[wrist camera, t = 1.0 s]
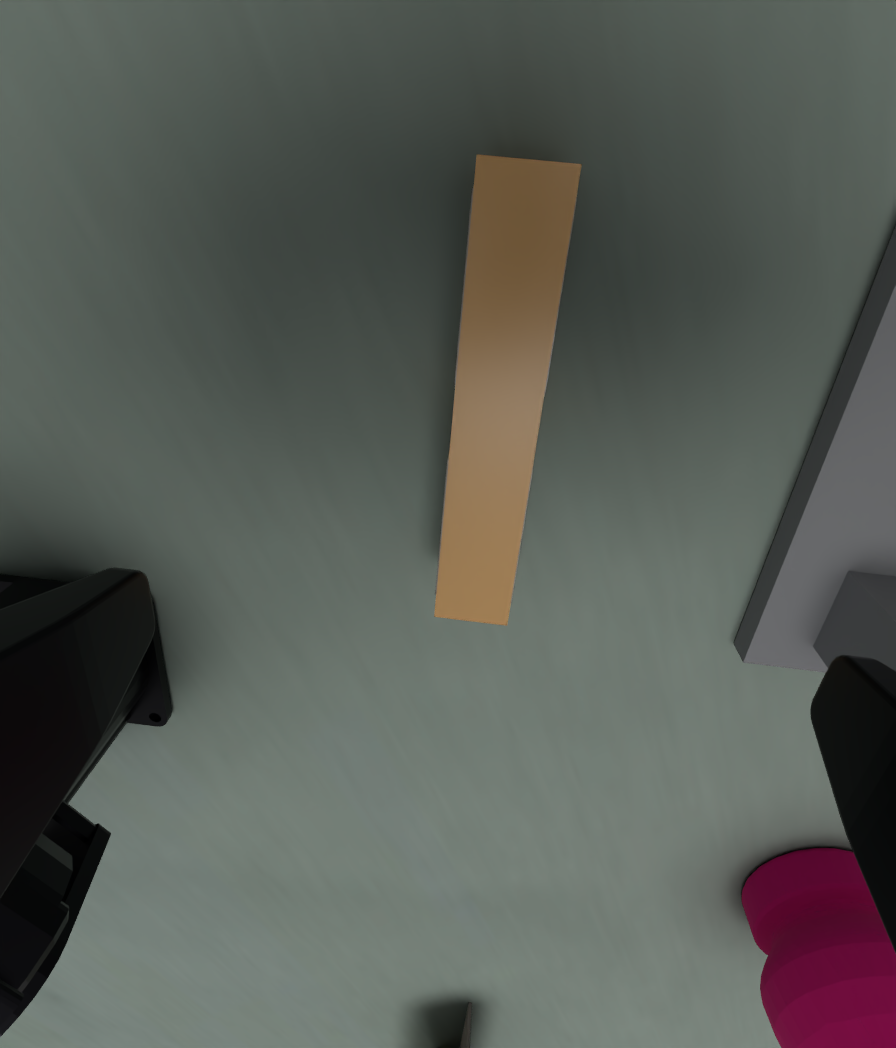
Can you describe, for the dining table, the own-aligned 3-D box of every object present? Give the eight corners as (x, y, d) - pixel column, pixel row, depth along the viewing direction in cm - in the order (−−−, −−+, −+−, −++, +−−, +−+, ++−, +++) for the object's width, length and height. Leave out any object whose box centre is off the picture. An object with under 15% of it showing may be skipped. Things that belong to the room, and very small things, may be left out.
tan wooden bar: (508, 564, 22) (508, 625, 18) (443, 557, 22) (432, 616, 19) (569, 171, 16) (583, 164, 13) (480, 163, 16) (474, 153, 13)
